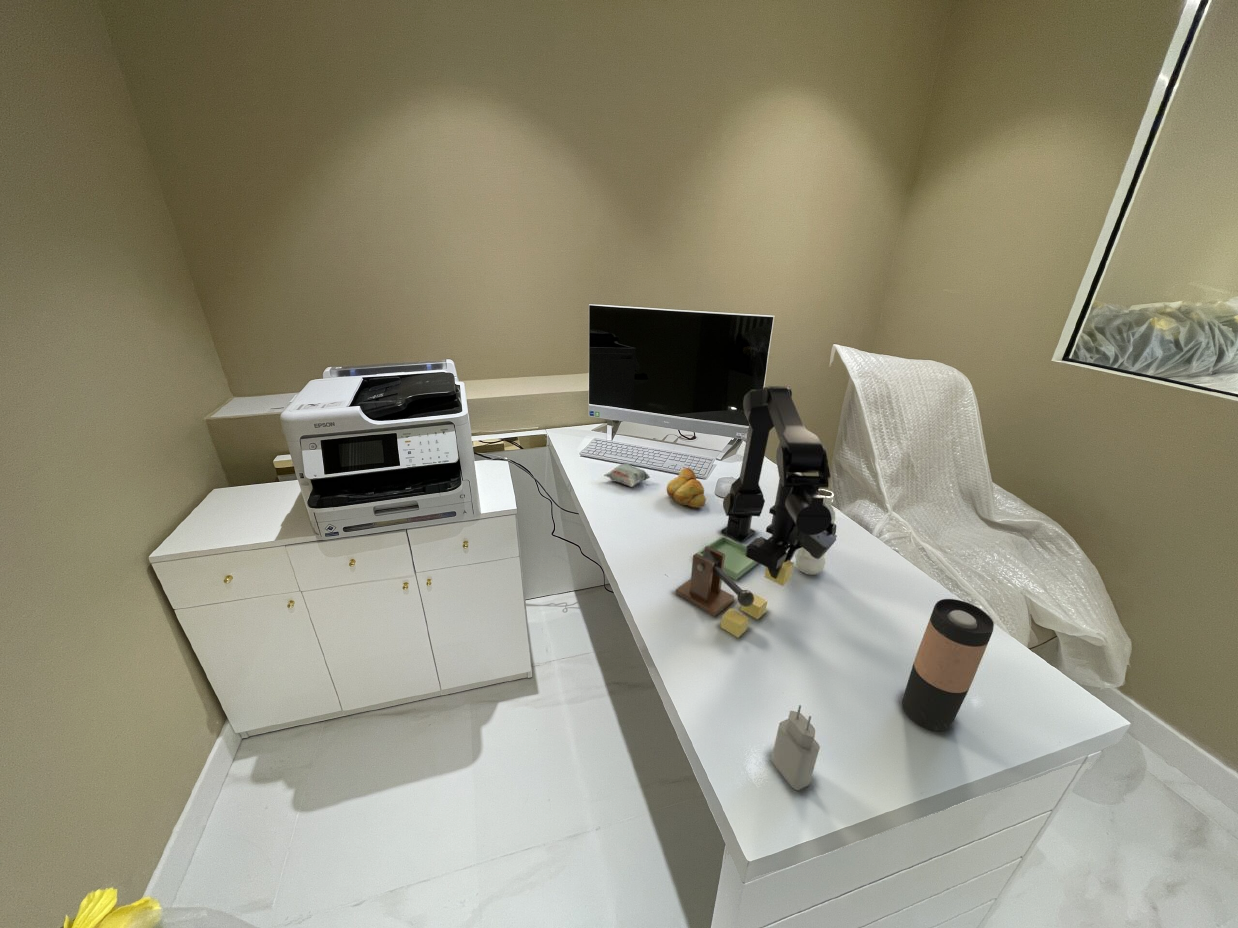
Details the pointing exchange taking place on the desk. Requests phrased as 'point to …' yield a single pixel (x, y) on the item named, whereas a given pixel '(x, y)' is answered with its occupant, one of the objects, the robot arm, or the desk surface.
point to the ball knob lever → (731, 583)
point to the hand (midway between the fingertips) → (777, 573)
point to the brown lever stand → (706, 584)
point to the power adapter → (795, 750)
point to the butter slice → (781, 573)
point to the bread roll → (686, 489)
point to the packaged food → (627, 475)
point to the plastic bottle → (804, 557)
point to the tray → (732, 557)
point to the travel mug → (946, 663)
